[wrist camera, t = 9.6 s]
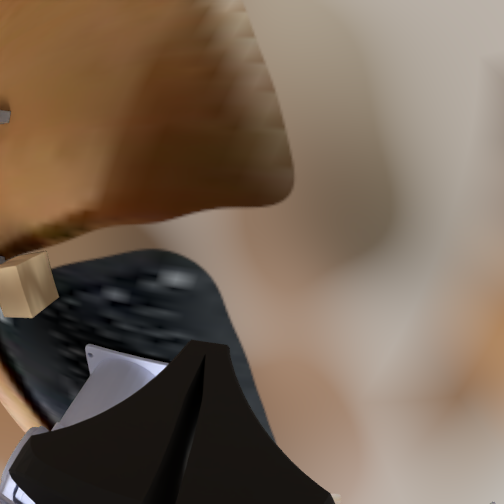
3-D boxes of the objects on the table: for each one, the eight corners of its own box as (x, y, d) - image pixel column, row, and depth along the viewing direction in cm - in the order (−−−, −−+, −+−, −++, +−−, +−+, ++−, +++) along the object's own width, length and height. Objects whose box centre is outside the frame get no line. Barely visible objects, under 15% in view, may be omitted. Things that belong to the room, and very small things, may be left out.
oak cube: (59, 296, 20) (32, 317, 16) (30, 298, 20) (4, 316, 16) (46, 250, 19) (16, 265, 15) (18, 255, 19) (-11, 270, 15)
